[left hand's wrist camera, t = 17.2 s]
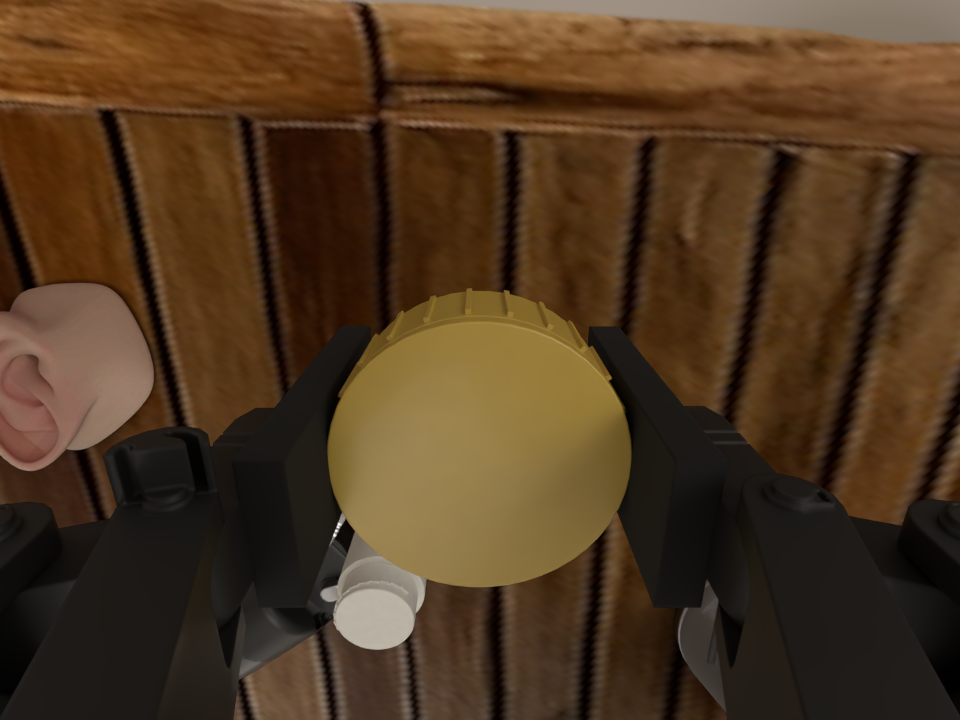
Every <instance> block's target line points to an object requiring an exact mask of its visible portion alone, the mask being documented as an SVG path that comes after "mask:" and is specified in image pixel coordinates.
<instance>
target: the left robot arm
mask: <svg viewBox="0 0 960 720" xmlns="http://www.w3.org/2000/svg"><path fill="white" fill-rule="evenodd" d="M370 341H371V328H370V327H340V328H339V330H338V331H337V332H336V333H335V335H334V336H333V337H332V338H331V340H330V341H329V342H328V343H327V344H326V346H325V347H324V348H323V349H322V351H321V352H320V353H319V354H318V355H317V357H316V358H315V359H314V360H313V362H312V363H311V364H310V365H309V366H308V368H307V369H306V370H305V371H304V373H303V374H302V375H301V376H300V377H299V379H298V380H297V381H296V382H295V384H294V385H293V386H292V387H291V388H290V390H289V391H288V392H287V393H286V395H285V396H284V397H283V398H282V399H281V401H280V402H279V403H278V404H277V406H276V407H275V408H255V409H253V410H251V411H250V412H248V413H246V414H244V415H242V416H241V417H239V418H237V419H235V420H234V422H233V423H232V424H231V425H230V426H229V427H228V428H227V429H226V430H225V431H224V432H223V435H220V437H219V438H218V439H217V440H216V441H215V442H214V443H213V446H210V443H209V438H208V434H207V433H205V432H204V431H202V430H201V429H198V428H192V427H186V426H184V427H166V428H161V429H156V430H151V431H147V432H144V433H141V434H138V435H135V436H132V437H129V438H127V439H125V440H123V441H121V442H119V443H118V444H116V445H114V446H112V447H111V448H110V449H109V450H108V451H107V452H106V453H105V454H104V455H103V458H104V462H105V465H106V469H107V472H108V476H109V479H110V483H111V487H112V490H113V494H114V497H115V501H116V504H117V507H116V509H115V511H114V513H113V515H112V516H111V518H110V519H106V520H101V521H96V522H91V523H85V524H80V525H74V526H69V527H64V528H58V526H57V523H56V520H55V517H54V514H53V511H52V509H51V508H49V507H48V506H46V505H45V504H43V503H34V502H22V503H14V504H3V505H0V720H233V716H234V709H235V702H236V695H237V687H238V680H239V673H240V666H241V658H242V651H243V644H244V637H245V629H246V624H245V617H244V612H243V607H242V601H243V599H244V597H245V595H246V593H247V591H248V590H249V588H250V586H251V584H252V582H253V581H254V586H255V591H256V597H257V602H258V607H259V608H306V605H307V602H308V600H309V597H310V595H311V592H312V589H313V587H314V584H315V582H316V579H317V576H318V574H319V571H320V569H321V566H322V564H323V561H324V558H325V556H326V553H327V551H328V548H329V545H330V543H331V540H332V538H333V535H334V533H335V530H336V527H337V525H338V522H339V520H340V517H341V514H342V511H341V509H340V507H339V505H338V502H337V500H336V498H335V496H334V493H333V489H332V486H331V481H330V473H329V465H328V455H327V441H328V435H329V430H330V424H331V421H332V418H333V415H334V413H335V410H336V407H337V405H338V403H339V401H340V399H341V398H339V397H338V395H339V392H340V391H341V389H342V387H343V386H344V384H345V382H346V381H347V379H348V377H349V376H350V374H351V372H352V370H353V369H354V367H355V365H356V364H357V362H359V360H360V358H361V356H362V355H363V353H364V351H365V350H366V348H367V346H368V345H369V343H370ZM591 346H593V348H594V349H595V351H596V353H597V354H598V356H599V358H600V359H601V361H602V363H603V364H604V366H605V368H606V369H607V371H608V373H609V374H610V376H611V378H612V379H611V380H609V381H610V383H611V384H612V386H613V388H614V390H615V391H616V393H617V395H618V397H619V398H620V400H621V402H622V403H623V405H624V407H625V409H626V413H625V416H626V419H627V421H628V426H629V431H630V436H631V444H632V459H631V468H630V477H629V481H628V485H627V489H626V492H625V495H624V497H623V500H622V502H621V504H620V507H619V509H618V510H617V513H618V515H619V518H620V520H621V523H622V526H623V528H624V531H625V533H626V536H627V539H628V541H629V544H630V546H631V549H632V551H633V554H634V557H635V559H636V562H637V564H638V567H639V570H640V572H641V575H642V577H643V580H644V583H645V585H646V588H647V590H648V593H649V595H650V598H651V601H652V603H653V606H654V608H677V611H676V615H675V622H674V629H675V636H676V640H677V643H678V645H679V648H680V650H681V653H682V655H683V657H684V659H685V661H686V663H687V664H688V666H689V668H690V669H691V671H692V673H693V674H694V675H695V676H696V678H697V679H698V680H699V681H700V682H701V683H702V684H703V685H704V687H705V688H706V689H707V690H708V692H709V693H710V694H711V695H712V696H713V697H714V699H715V700H716V701H717V702H718V703H719V705H720V706H721V707H722V708H723V709H724V710H725V712H726V715H727V720H960V502H956V501H943V500H935V499H930V500H920V501H916V502H915V503H913V504H912V505H910V506H909V507H908V510H907V513H906V516H905V519H904V522H903V525H902V526H899V525H894V524H888V523H883V522H878V521H872V520H867V519H861V518H856V517H852V516H849V515H848V514H847V512H846V510H845V508H844V506H843V505H842V504H841V503H840V502H839V500H838V499H837V498H836V497H835V496H834V495H833V494H831V493H830V492H828V491H827V490H825V489H823V488H822V487H820V486H819V485H816V484H814V483H811V482H809V481H806V480H804V479H801V478H798V477H793V476H789V475H785V474H777V473H776V472H775V471H774V470H773V469H772V468H771V467H770V465H769V464H768V463H767V462H766V461H765V460H764V459H763V458H762V457H761V456H760V455H759V454H758V453H757V452H756V451H755V449H754V448H753V447H752V446H751V445H750V444H747V441H746V440H745V439H744V438H743V437H742V436H741V435H740V434H739V433H737V430H736V429H735V428H734V427H733V426H732V425H731V424H730V423H729V422H728V421H727V420H726V419H725V418H724V417H723V416H721V415H719V414H717V413H715V412H714V411H712V410H710V409H708V408H706V407H705V406H683V405H682V404H681V402H680V401H679V400H678V399H677V397H676V396H675V395H674V394H673V393H672V391H671V390H670V389H669V388H668V386H667V385H666V384H665V383H664V382H663V380H662V379H661V378H660V377H659V375H658V374H657V373H656V372H655V371H654V369H653V368H652V367H651V366H650V364H649V363H648V362H647V361H646V359H645V358H644V357H643V356H642V355H641V353H640V352H639V351H638V350H637V348H636V347H635V346H634V345H633V344H632V342H631V341H630V340H629V339H628V337H627V336H626V335H625V334H624V333H623V331H622V330H621V329H620V328H619V327H589V337H588V347H591Z"/></svg>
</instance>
